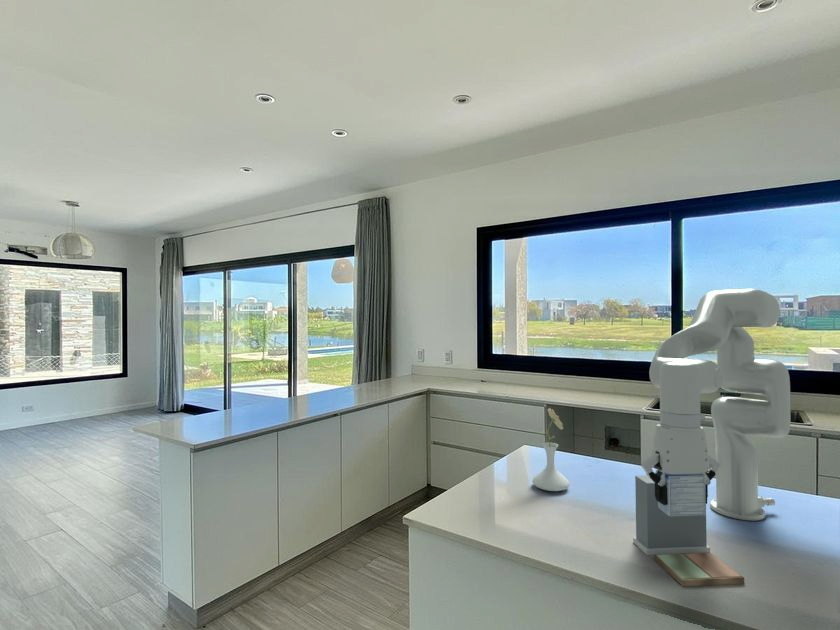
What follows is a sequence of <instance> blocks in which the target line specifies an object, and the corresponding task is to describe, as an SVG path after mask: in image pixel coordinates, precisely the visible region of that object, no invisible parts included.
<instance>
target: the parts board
mask: <svg viewBox="0 0 840 630" xmlns="http://www.w3.org/2000/svg"><path fill="white" fill-rule="evenodd" d="M653 561H655V562H656V563H657V564H658V565H659V566H660V567H661V568H662V569H663V570H665V572H667V574H668V575H670V576H671V577H672V578H673V577H674V578H675V579H676V580H677V581H678V582H679V583H680V584H681V585H680V584H679V585H680V586H681V587H694V586H695V587H699V586H700V587H701V586H716V585H717V586H718V585H719V586H720V585H723V586H724V585H743V584H745V577H744V576H742V575H741V574H740V573H738V572H737V571H736V570H734V569H733V568H732V567H730V566H729V564H727V563H725V562H724V561H723V560H721V559H720V558H718V557H717V556H715V555H714V554H713V553H712V552H711V551H710V552H703V553H678V554H654V555H653ZM674 578H673V579H674ZM675 579H674V580H675ZM676 580H675V581H676ZM677 581H676V582H677ZM678 582H677V583H678Z"/></svg>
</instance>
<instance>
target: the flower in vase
mask: <svg viewBox="0 0 840 630" xmlns="http://www.w3.org/2000/svg"><path fill="white" fill-rule="evenodd" d="M546 412H547V413H548V415H549V417H550V418H551V421H550V423H549V425H548V428H547V429H546V431H545V432H546V435H547V440H548V442H543V443H541V446H543V448H544V450H545V454H546V465H545V468H544V469H542V470H541V471H540V472H539V473H537V474H535V476H533V478H532V484H533V485H534V486H535V487H536V488H539V489H540V490H541V489H542V491H543V490H544V491H549V492H559V491H565V490H567V489H568V488H569V487H570V481H569V479H568V478H566V476H564V474H562V473H561V472H560V471H559V470H557V469H556V467H555V454H556V451H557V448H558V447H559V444H558V443H555V442H550V441H551V439H554V438H555V437H556V436H555V435H552V436H551V437H550V434H549V432H550V428H551V425H552V423H554V424H555V425H556V427H557V428H558V429H559V430H563V429H564V427H563V426H564V424H563V422H562V421H561V420H560V416H559V415H556V414H557V413H555V410H554V409H551V407H549V408H548V409H547V411H546Z"/></svg>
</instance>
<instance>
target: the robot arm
mask: <svg viewBox="0 0 840 630" xmlns="http://www.w3.org/2000/svg"><path fill="white" fill-rule="evenodd" d="M780 314H781V308H780V304H779V301H778V300H777V298H776V297H775V296H774V295H773V294H770V293H769V292H766V291H764V290H760V289H756V288H745V289H744V288H743V289H741V288H740V289H739V288H738V289H721V290H713V291H709V292H707V293H705V294H704V295H703V296H702V297H701V298H700V300H699V302H698V304H697V306H696V309H695V311H694V314H693V316H692V318H691V320H690V322H689V326H687V327H686V328H685V327H684V328H683V329H681V330H680V331H678V332H676V333H674V334H673V335H671V336H670V337H668V338H666V339H665V340H664V341H663V342H661V343H660V344H659V346H658V347H657V349H656V352H655V354H654V356H653V357H652V360H651V363H650V366H649V372H648V374H649V380H650V381H651V382H650V383H651V384H652V385H653V386H654V387H655V388H657V389H659V424H656V425H655V429H654V433H653V437H652V438H653V439H652V449H651V450H652V451H651V456H650V457H648V459H645V460H644V461H643V462H642V463H641V465H640V466H641V468H642V469H643V471H644V472H645V473H646V474H645V475H648V476H649V477H650V478H651V479H652V481H653V482H655V498H656V500H657V501H658V502H660V503H661V504H663V505H667V487H666V486H665V485H664V484H665V483H666V481H667V475H695V474H703V475H705V503H706V505H707V504H708V497H709V490H708V489H709V488H708V486H709V485H711V483H712V482H711V481H712V480H713V478H715V487H716V489H715V490H716V493H715V494H716V496H715V497H716V498H713V499H711V500H710V501H709V506H710V508H711V509H712V510H713V511H714V512H716V513H717V514H719V515H723V516H725V517H728V518H731V519H736V520H741V521H742V520H743V521H751V522H752V521H756V522H757V521H761V520H763V519H765V518H766V511H765V509H764V507H765V506H775V505H776V501H775V499H774V498H773V497H765V498H764V497H763V496H762V495H759V486H758V484H759V481H758V480H759V476H758V475H759V474H758V472H759V471H758V469H759V468H758V467H759V466H758V451H757V448H756V445H755V444H754V442H753V441H752V440H751V438H750V437H749V436H748V435H752V436H753V435H754V436H759V437H767V438H772V439H773V438H774V439H783V438H786V437H787V436H788V435H789V434H790V429H791V420H792V419H791V417H792V416H791V381H790V379H791V377H790V374H789V369H788V368H787V366H786V365H785V364H784V363H783V362H780V361H778V360H772V359H756V357H755V341H754V340H753V339H754V338H753V337H752V336H751V335H750V333H749V332H748V331H747V330H746V329H745V328H771V327H773V326H775V325H776V324H777V323H778V321H779V319H780ZM715 350H716V355H717V356H716V357H717V358H716V361H717V362H715V361H712V360H708V359H699V358H698V359H697V358H688V357H692V356H695V355H700V354H704V353H709V352H712V351H715ZM719 389H722V390H724V391H727V392H731V393H739V394H749V395H758V396H764V397H765V398H766V399H767V400H763V399H755V398H748V397H738V396H736V397H734V396H722V397H718V398H716V399H715V400H714V401H712V404H711V406H710V413H711V419H712V424H713V430H714V439H715V442H714V443H715V459H714V458H713V457H711V456H710V455H709V451H708V443H707V437H706V433H705V429H704V427H702V426H701V425H702V421H705V420H706V415H705V414H703V413H701V394H702V395H708V394H709V395H710V394H714V393H715V392H717V391H718V390H719ZM653 468H654V469H655V472H654V471H653V470H654V469H653ZM661 472H662V473H663V474H662V475H661Z"/></svg>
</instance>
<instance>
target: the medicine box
mask: <svg viewBox="0 0 840 630" xmlns="http://www.w3.org/2000/svg"><path fill="white" fill-rule="evenodd" d="M662 474H663V473H662V472H661V475H662ZM664 485H665V486H666V487H667V505H663V504H661V503H660V502H658V507H659V509H660V510H662V511H663V512H664V513H665V514H667V515H668V516H695V515H706V516H707V504H706V503H705V475H703V474H695V475H667V481H666V483H665V484H664Z"/></svg>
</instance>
